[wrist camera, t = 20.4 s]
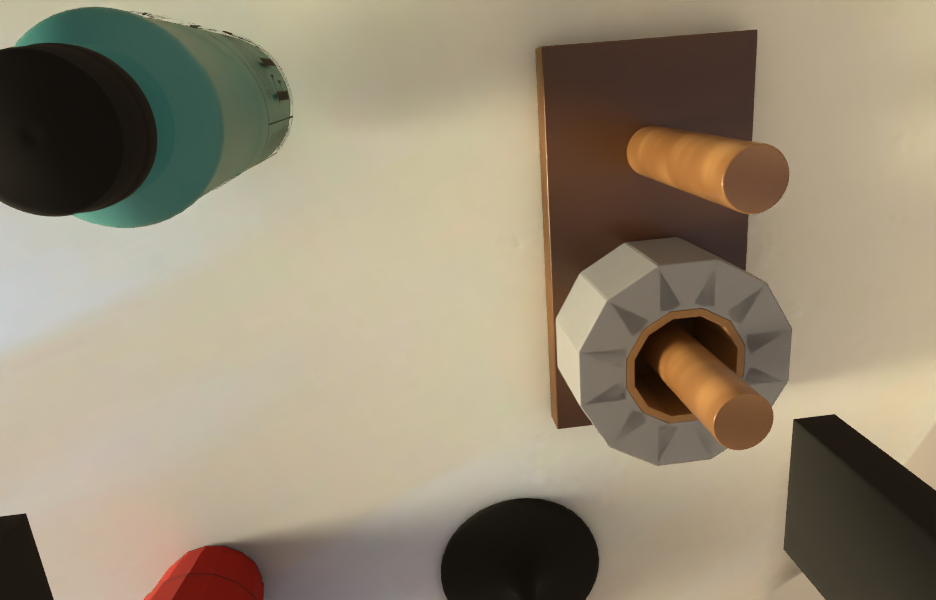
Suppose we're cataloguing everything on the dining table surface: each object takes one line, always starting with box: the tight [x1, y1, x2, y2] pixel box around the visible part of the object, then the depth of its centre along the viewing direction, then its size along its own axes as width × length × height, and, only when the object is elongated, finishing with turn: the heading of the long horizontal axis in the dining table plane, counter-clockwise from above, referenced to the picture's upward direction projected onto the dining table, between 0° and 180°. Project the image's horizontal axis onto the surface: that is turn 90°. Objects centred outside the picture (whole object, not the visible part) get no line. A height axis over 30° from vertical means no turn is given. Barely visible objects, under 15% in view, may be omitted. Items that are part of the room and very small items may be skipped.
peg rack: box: [536, 30, 789, 450], centre depth 33 cm, size 21×11×13 cm, turn 4°
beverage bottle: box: [0, 7, 293, 228], centre depth 25 cm, size 6×7×20 cm
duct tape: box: [556, 237, 792, 466], centre depth 37 cm, size 11×11×5 cm
